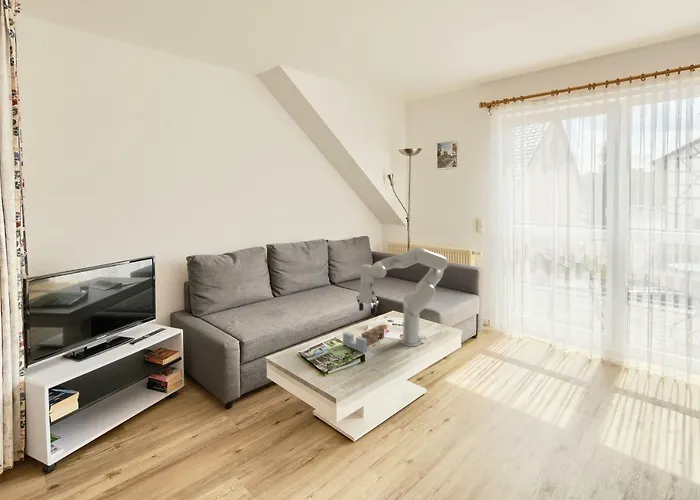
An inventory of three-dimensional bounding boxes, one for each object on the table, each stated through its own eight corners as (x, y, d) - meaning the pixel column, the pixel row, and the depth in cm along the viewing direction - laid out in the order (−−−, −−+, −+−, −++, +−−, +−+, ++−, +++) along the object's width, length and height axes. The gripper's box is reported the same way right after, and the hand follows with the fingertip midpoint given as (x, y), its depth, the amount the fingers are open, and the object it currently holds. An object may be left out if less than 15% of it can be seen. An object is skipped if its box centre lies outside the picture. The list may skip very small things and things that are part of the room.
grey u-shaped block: (343, 345, 237) (343, 333, 235) (346, 344, 239) (346, 331, 238) (363, 353, 227) (363, 340, 225) (366, 351, 229) (367, 338, 227)
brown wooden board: (380, 336, 251) (380, 324, 249) (383, 337, 249) (384, 326, 247) (361, 346, 237) (361, 333, 235) (365, 347, 235) (365, 334, 233)
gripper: (382, 286, 231) (382, 313, 234) (360, 281, 243) (361, 307, 246) (373, 289, 225) (373, 317, 229) (352, 283, 237) (352, 310, 241)
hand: (367, 312), depth 237 cm, fingers open, 9 cm apart
